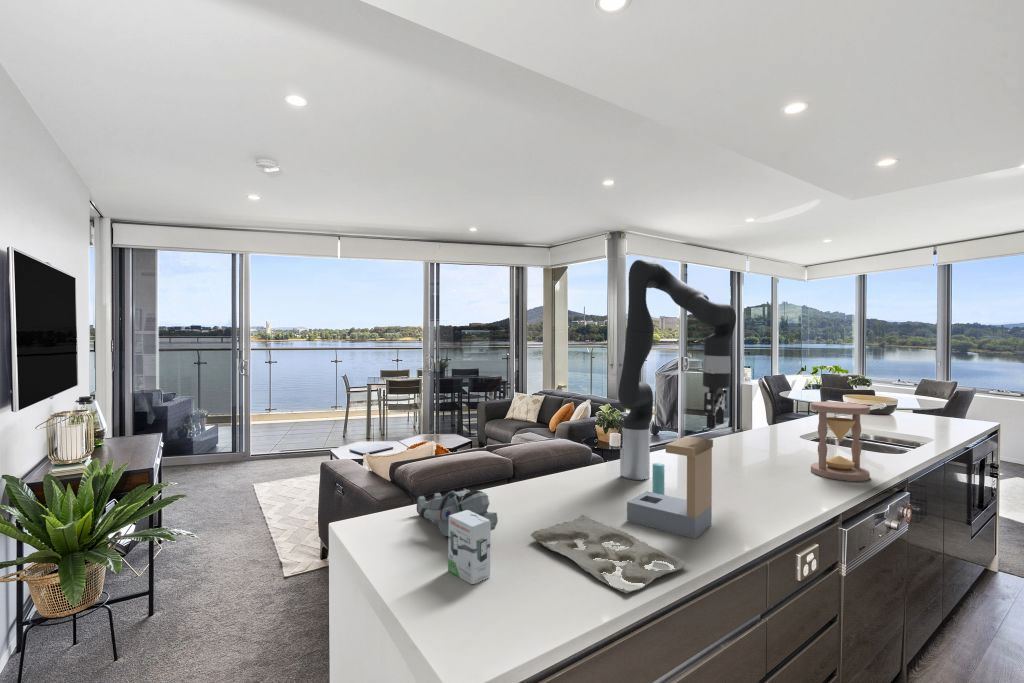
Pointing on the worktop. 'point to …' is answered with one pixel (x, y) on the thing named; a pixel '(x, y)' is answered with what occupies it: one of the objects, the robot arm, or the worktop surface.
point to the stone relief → (605, 550)
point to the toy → (455, 507)
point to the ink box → (469, 546)
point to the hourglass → (840, 426)
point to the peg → (658, 478)
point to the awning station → (675, 511)
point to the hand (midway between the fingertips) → (715, 425)
